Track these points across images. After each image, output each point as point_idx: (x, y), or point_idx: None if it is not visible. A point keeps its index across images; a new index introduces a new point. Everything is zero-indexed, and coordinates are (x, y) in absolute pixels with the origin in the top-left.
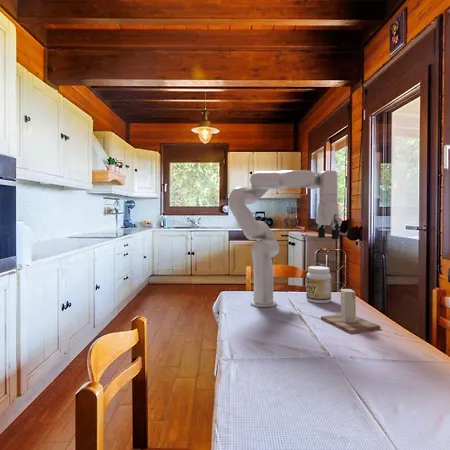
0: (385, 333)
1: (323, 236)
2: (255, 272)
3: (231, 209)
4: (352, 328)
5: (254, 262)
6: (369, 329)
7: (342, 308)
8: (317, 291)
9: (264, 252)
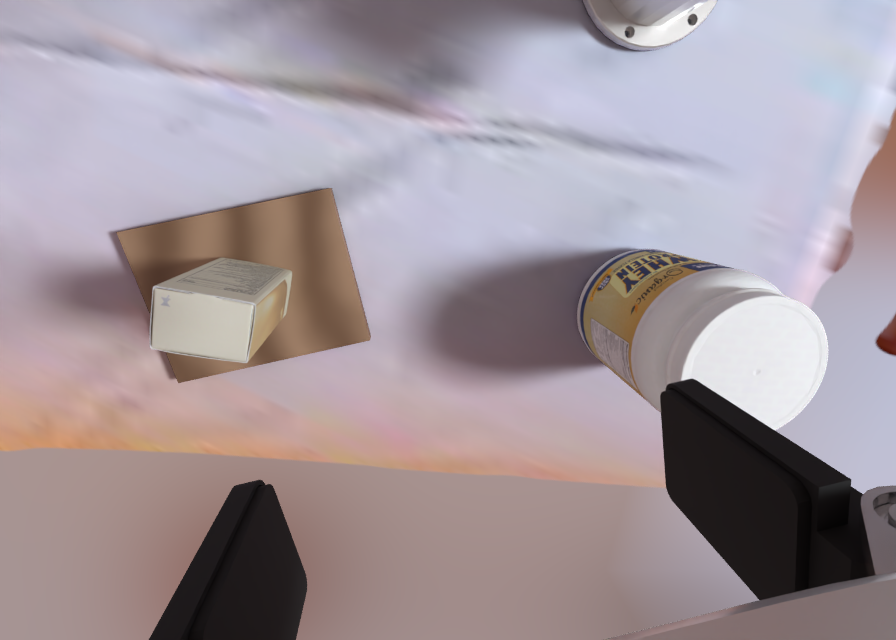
0: (131, 371)
1: (674, 478)
2: None
3: None
4: (143, 254)
5: None
6: None
7: (243, 273)
8: (610, 293)
9: None
